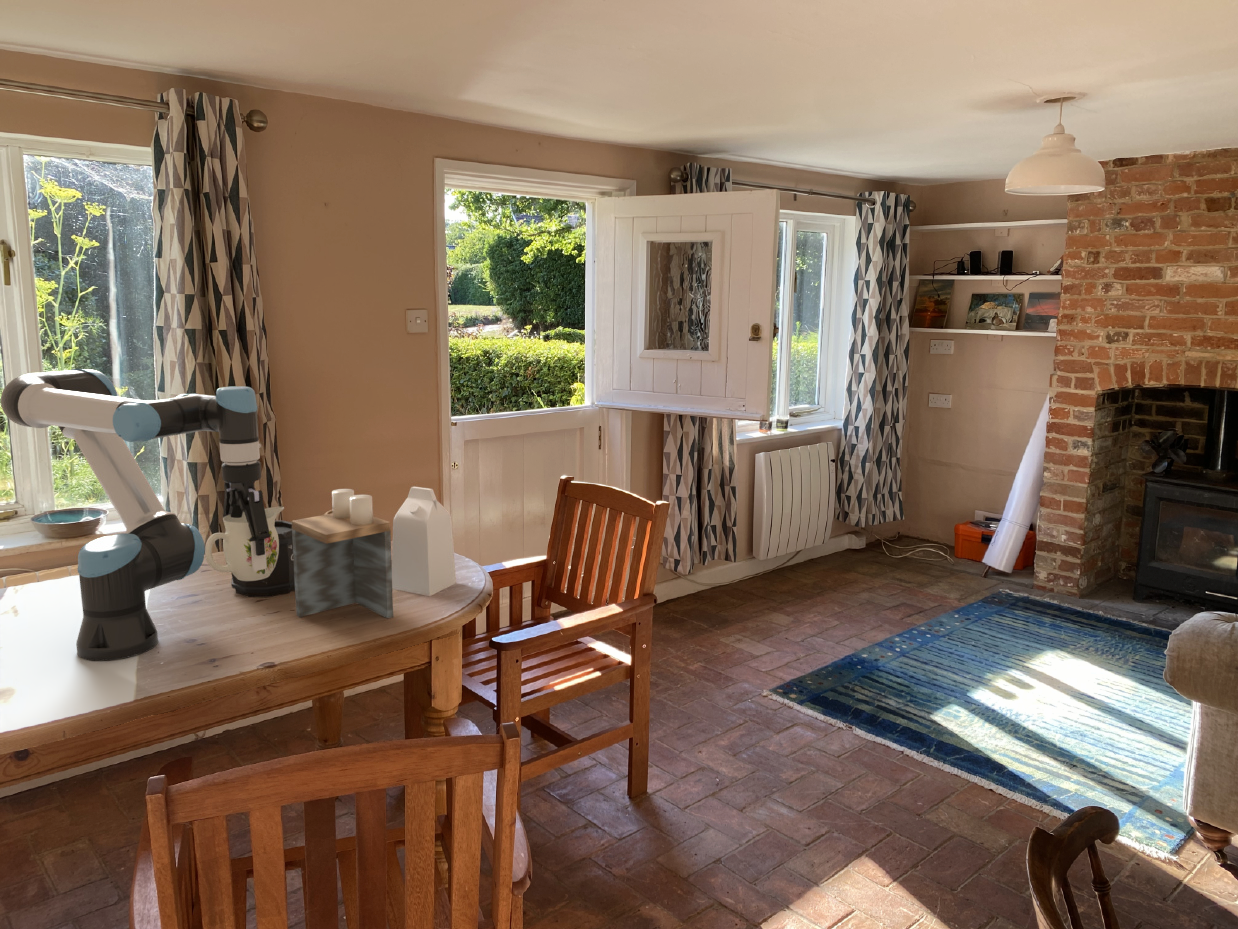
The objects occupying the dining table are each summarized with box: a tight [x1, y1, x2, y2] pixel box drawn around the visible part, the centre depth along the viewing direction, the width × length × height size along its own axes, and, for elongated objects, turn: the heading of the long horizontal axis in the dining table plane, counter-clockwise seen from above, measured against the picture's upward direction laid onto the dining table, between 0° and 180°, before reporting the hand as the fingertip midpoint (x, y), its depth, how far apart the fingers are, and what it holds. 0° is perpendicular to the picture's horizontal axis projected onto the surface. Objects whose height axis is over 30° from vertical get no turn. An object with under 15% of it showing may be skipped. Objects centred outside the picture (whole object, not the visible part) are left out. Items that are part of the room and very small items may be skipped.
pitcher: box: [204, 506, 285, 581], centre depth 192 cm, size 11×18×14 cm, turn 143°
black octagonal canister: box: [226, 519, 295, 598], centre depth 231 cm, size 18×18×16 cm
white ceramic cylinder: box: [331, 488, 355, 519], centre depth 213 cm, size 5×5×6 cm
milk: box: [391, 486, 457, 597], centre depth 234 cm, size 12×12×26 cm
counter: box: [291, 513, 394, 619], centre depth 211 cm, size 16×16×23 cm
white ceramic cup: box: [349, 494, 374, 525], centre depth 208 cm, size 5×5×6 cm
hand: (248, 563), depth 193 cm, fingers closed on pitcher, 11 cm apart
